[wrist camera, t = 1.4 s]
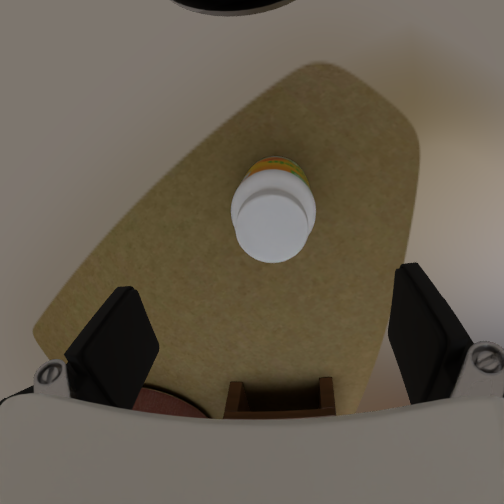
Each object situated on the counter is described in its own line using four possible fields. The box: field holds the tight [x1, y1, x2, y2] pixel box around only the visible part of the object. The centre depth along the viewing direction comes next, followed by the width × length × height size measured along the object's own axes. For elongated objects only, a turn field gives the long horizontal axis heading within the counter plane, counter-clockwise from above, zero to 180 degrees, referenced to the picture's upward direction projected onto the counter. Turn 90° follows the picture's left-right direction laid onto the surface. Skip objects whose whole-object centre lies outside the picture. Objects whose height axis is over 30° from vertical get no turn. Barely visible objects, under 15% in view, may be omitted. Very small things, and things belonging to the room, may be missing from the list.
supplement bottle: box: [231, 156, 316, 263], centre depth 20 cm, size 5×5×10 cm
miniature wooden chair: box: [223, 377, 336, 420], centre depth 33 cm, size 12×13×10 cm
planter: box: [132, 387, 208, 419], centre depth 35 cm, size 18×18×16 cm
